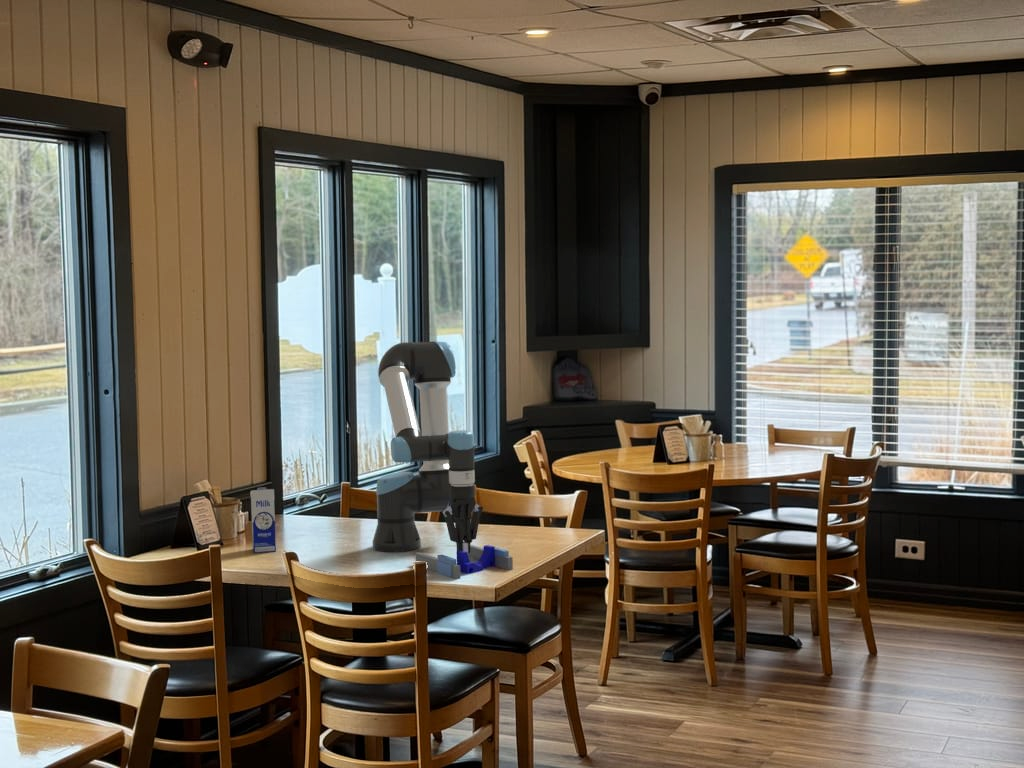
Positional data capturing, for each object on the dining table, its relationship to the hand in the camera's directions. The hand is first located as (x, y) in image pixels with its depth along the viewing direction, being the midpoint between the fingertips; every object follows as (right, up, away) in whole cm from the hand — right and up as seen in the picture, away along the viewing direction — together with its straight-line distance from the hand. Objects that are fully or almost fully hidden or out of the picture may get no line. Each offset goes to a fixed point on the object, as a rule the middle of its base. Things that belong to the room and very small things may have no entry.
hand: (463, 564), depth 348 cm
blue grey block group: (0, -1, 0) cm, 1 cm away
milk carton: (-64, 0, +30) cm, 71 cm away
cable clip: (+4, -1, -3) cm, 5 cm away
